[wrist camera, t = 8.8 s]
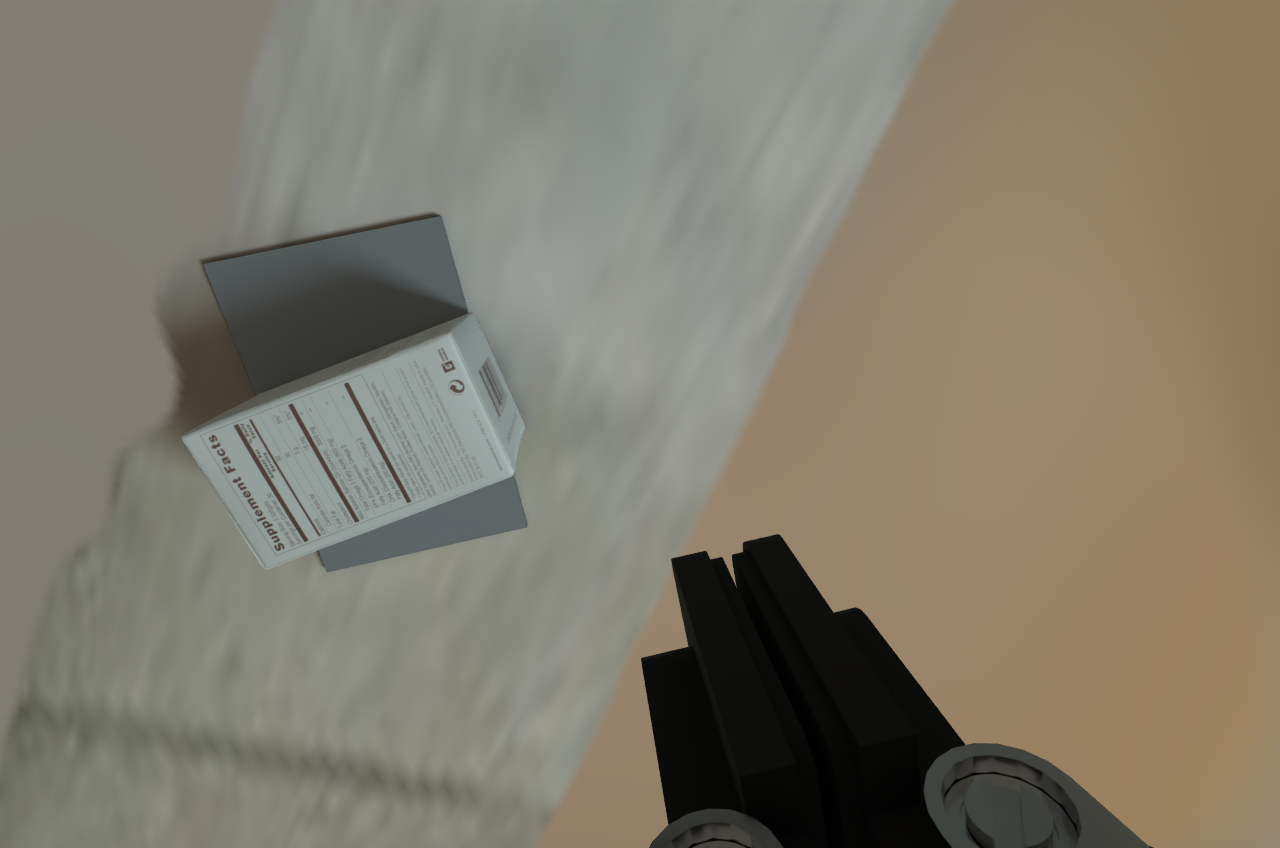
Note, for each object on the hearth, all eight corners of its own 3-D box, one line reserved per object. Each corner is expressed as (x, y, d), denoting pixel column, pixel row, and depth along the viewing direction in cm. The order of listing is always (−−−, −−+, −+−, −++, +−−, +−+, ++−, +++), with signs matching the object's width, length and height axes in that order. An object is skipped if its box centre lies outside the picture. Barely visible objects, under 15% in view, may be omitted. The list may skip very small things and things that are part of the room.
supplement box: (528, 430, 36) (322, 507, 36) (474, 307, 34) (253, 391, 34) (518, 480, 29) (262, 576, 29) (448, 330, 27) (170, 435, 27)
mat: (441, 216, 33) (439, 215, 32) (527, 524, 38) (527, 527, 38) (207, 263, 32) (202, 264, 32) (329, 568, 38) (327, 572, 37)
